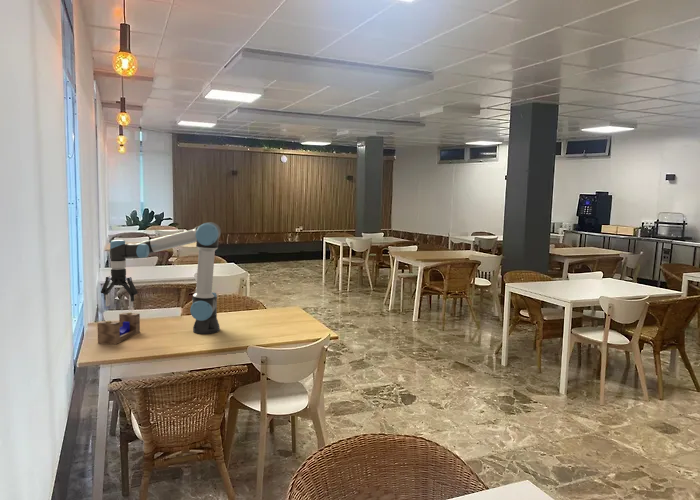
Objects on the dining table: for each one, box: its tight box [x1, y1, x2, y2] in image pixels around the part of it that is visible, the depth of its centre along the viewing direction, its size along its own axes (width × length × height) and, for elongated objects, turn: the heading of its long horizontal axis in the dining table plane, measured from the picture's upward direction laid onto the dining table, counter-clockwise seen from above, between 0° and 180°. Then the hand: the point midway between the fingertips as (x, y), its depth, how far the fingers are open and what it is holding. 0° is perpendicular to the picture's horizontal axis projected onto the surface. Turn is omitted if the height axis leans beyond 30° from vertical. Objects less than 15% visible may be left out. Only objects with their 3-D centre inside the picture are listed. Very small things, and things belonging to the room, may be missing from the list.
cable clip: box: [120, 322, 130, 336], centre depth 278 cm, size 12×4×6 cm, turn 172°
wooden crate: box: [97, 311, 141, 345], centre depth 278 cm, size 10×24×12 cm, turn 173°
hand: (119, 306), depth 277 cm, fingers open, 13 cm apart
